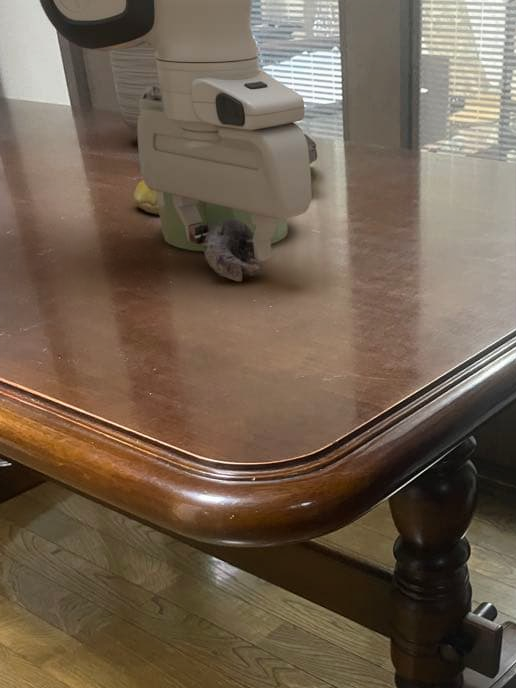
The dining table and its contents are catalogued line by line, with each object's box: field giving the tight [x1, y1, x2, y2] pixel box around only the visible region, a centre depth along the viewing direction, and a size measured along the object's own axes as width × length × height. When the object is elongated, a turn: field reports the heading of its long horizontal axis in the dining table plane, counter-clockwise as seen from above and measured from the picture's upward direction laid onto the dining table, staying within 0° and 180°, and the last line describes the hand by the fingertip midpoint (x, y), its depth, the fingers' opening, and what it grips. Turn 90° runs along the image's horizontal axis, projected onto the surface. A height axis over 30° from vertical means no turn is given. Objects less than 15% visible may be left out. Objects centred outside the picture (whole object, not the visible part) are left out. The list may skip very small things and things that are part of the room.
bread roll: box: [133, 179, 160, 216], centre depth 106 cm, size 8×9×4 cm
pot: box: [156, 191, 289, 252], centre depth 95 cm, size 14×14×8 cm
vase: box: [108, 45, 160, 135], centre depth 132 cm, size 20×20×34 cm
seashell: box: [203, 219, 262, 282], centre depth 86 cm, size 5×5×10 cm
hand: (228, 250), depth 86 cm, fingers closed on seashell, 7 cm apart
